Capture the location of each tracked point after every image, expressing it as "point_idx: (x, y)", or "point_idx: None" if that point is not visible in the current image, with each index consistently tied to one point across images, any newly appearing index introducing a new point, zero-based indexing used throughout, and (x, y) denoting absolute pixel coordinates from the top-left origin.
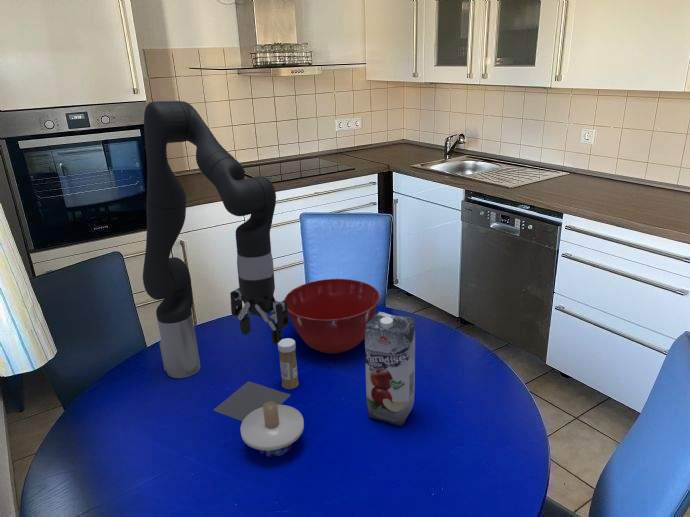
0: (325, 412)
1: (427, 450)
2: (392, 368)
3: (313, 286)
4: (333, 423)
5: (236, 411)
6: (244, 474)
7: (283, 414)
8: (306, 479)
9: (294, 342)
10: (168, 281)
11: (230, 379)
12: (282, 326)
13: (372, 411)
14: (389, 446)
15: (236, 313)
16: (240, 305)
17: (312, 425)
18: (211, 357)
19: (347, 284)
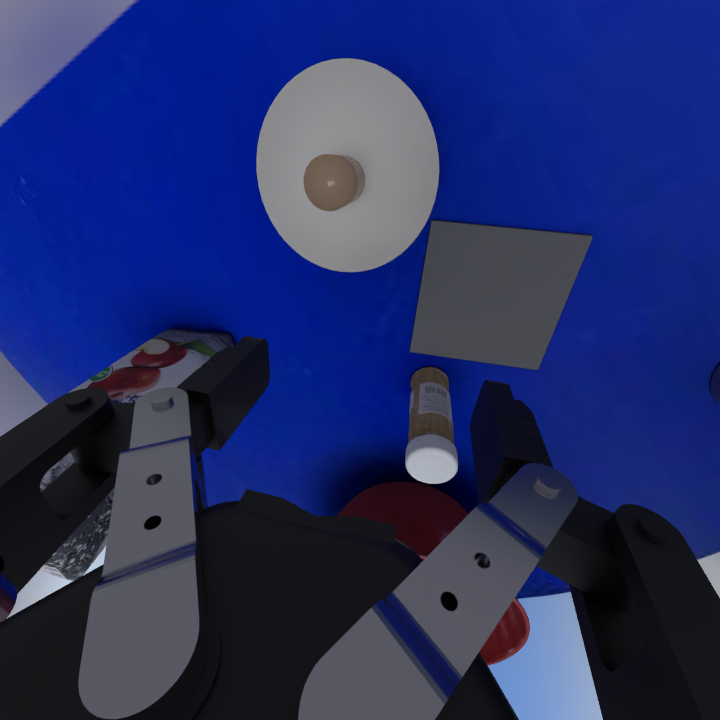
0: (315, 324)
1: (102, 286)
2: None
3: (480, 650)
4: (282, 298)
5: (517, 255)
6: (373, 25)
7: (338, 234)
8: (225, 97)
9: (407, 470)
10: None
11: (593, 368)
12: (43, 409)
13: (208, 337)
14: (156, 272)
15: (610, 532)
16: (602, 638)
17: (317, 278)
18: (688, 431)
19: None
